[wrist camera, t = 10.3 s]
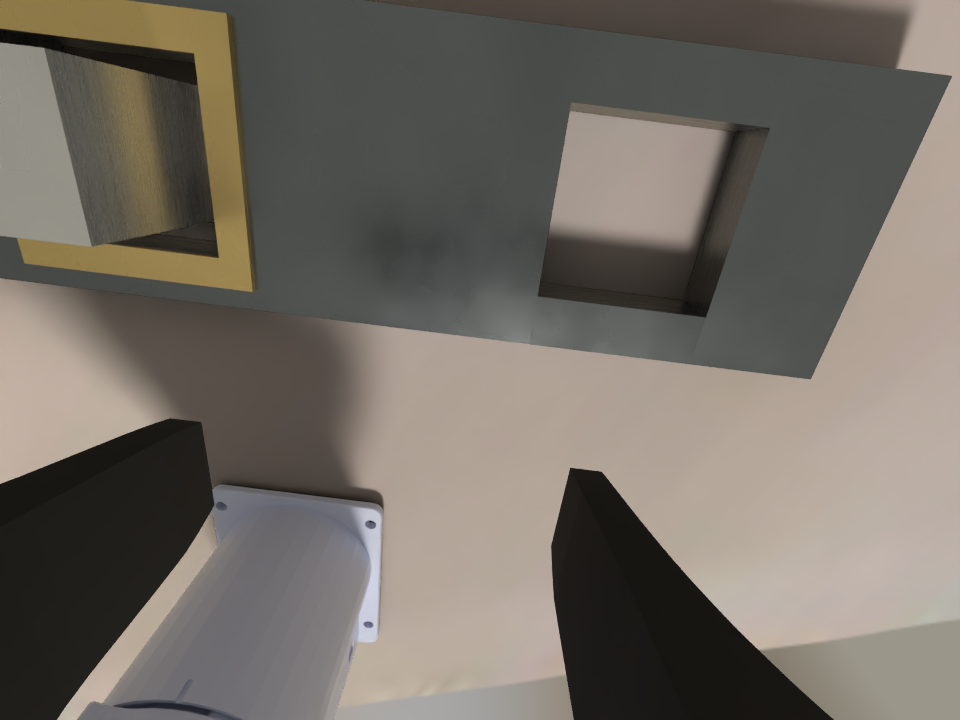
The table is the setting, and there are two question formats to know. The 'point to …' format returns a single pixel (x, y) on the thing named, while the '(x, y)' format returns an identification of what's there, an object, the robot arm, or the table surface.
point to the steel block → (97, 150)
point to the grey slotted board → (491, 173)
